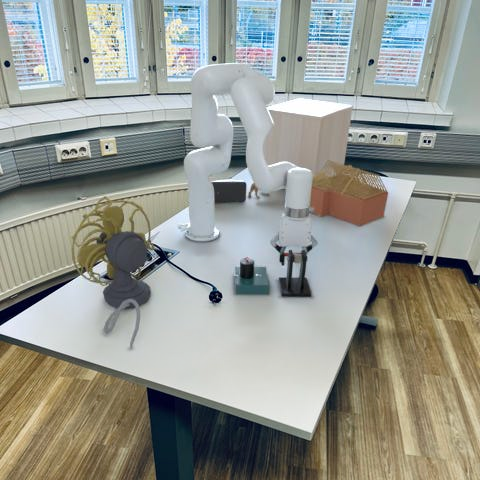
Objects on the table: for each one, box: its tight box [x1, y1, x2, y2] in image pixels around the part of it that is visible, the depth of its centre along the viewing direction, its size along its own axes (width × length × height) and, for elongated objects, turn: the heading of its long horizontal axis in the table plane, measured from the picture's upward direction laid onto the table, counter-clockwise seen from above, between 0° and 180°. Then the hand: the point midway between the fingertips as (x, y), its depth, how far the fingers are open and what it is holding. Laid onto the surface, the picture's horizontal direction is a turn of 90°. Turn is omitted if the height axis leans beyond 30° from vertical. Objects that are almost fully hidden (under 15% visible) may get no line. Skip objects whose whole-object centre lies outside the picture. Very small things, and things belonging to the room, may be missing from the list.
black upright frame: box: [278, 249, 312, 298], centre depth 142 cm, size 10×9×12 cm
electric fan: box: [71, 195, 155, 349], centre depth 125 cm, size 26×32×30 cm
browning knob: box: [239, 256, 255, 279], centre depth 144 cm, size 4×4×5 cm
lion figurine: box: [247, 182, 270, 199], centre depth 212 cm, size 15×5×9 cm, turn 137°
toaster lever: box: [284, 252, 302, 264], centre depth 144 cm, size 12×6×2 cm, turn 1°
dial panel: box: [233, 266, 270, 295], centre depth 146 cm, size 11×12×3 cm
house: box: [310, 160, 389, 227], centre depth 194 cm, size 28×23×19 cm
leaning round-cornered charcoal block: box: [211, 179, 247, 204], centre depth 205 cm, size 16×5×9 cm, turn 96°
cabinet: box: [263, 98, 354, 190], centre depth 225 cm, size 35×29×34 cm
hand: (292, 263), depth 150 cm, fingers closed on toaster lever, 5 cm apart
